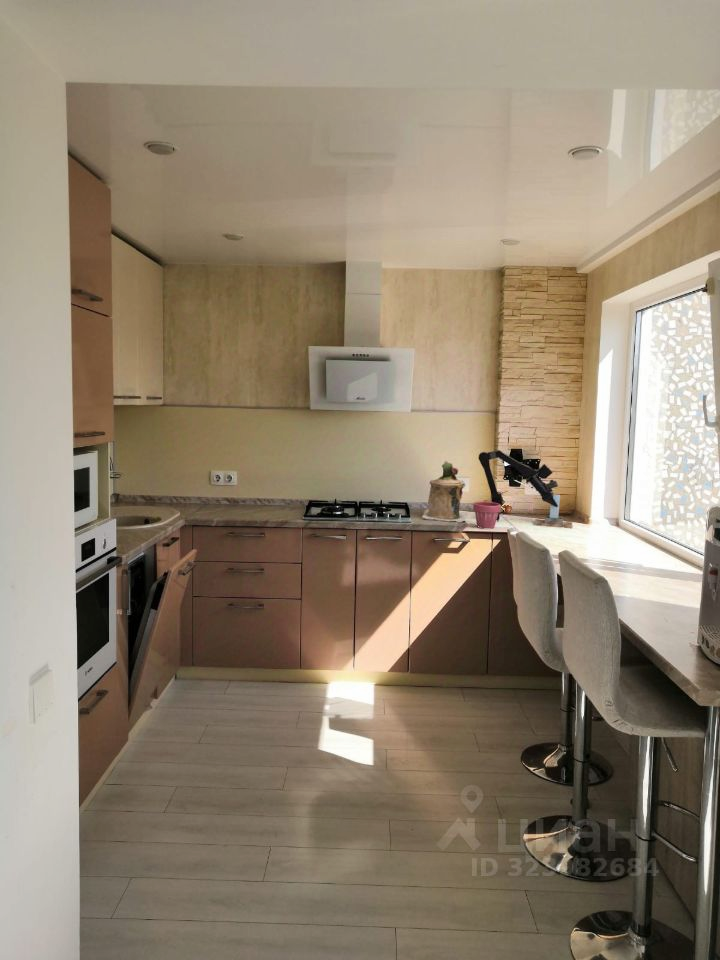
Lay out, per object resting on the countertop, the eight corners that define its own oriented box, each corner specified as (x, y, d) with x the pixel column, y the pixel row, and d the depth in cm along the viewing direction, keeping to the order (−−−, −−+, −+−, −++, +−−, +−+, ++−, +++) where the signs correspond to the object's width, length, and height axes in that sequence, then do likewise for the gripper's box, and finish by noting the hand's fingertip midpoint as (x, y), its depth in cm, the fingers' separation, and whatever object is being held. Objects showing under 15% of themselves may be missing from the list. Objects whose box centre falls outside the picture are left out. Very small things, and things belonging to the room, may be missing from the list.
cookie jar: (420, 519, 412) (424, 462, 408) (425, 513, 436) (428, 458, 432) (465, 523, 408) (469, 465, 404) (467, 516, 432) (471, 461, 428)
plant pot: (481, 530, 389) (482, 506, 387) (467, 525, 401) (468, 501, 400) (504, 529, 394) (506, 505, 393) (489, 524, 407) (491, 501, 406)
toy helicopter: (513, 513, 449) (515, 490, 448) (487, 515, 438) (489, 492, 437) (503, 511, 456) (505, 489, 455) (478, 512, 445) (479, 490, 443)
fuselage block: (549, 517, 413) (551, 495, 412) (549, 516, 418) (551, 494, 416) (558, 518, 412) (560, 496, 411) (558, 517, 416) (560, 495, 415)
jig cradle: (534, 525, 411) (535, 517, 411) (535, 521, 424) (535, 514, 423) (572, 528, 407) (573, 520, 406) (571, 524, 419) (572, 517, 419)
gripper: (549, 477, 404) (569, 498, 403) (550, 473, 422) (568, 494, 421) (533, 490, 407) (553, 511, 406) (534, 486, 425) (553, 507, 423)
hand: (557, 505), depth 414 cm, fingers closed on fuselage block, 5 cm apart
